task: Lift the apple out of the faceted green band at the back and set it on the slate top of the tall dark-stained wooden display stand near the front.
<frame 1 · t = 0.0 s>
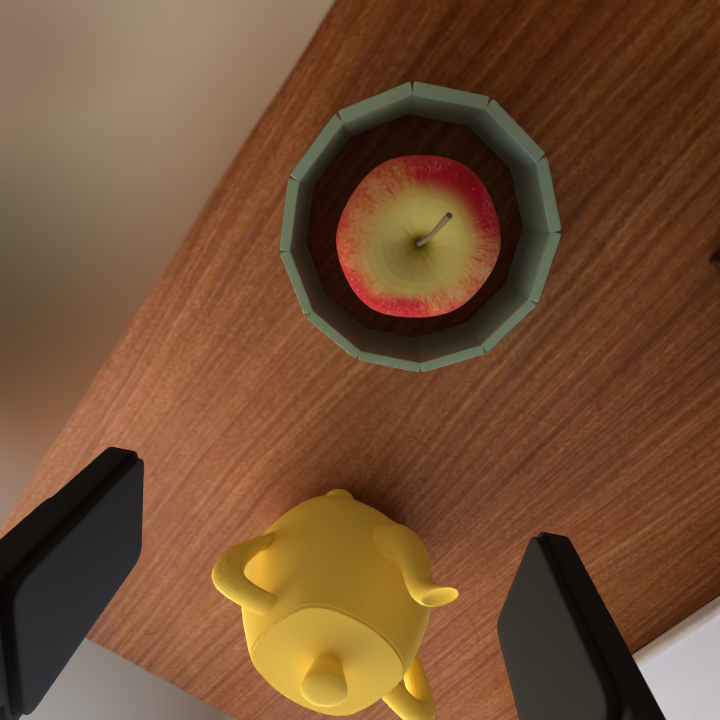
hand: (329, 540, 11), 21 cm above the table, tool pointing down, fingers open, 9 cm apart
faceted green band: (412, 234, 28), on the table
apple: (412, 234, 28), resting in faceted green band
tray: (669, 682, 40), on the table
yellow two-handled pot: (359, 527, 36), on the table
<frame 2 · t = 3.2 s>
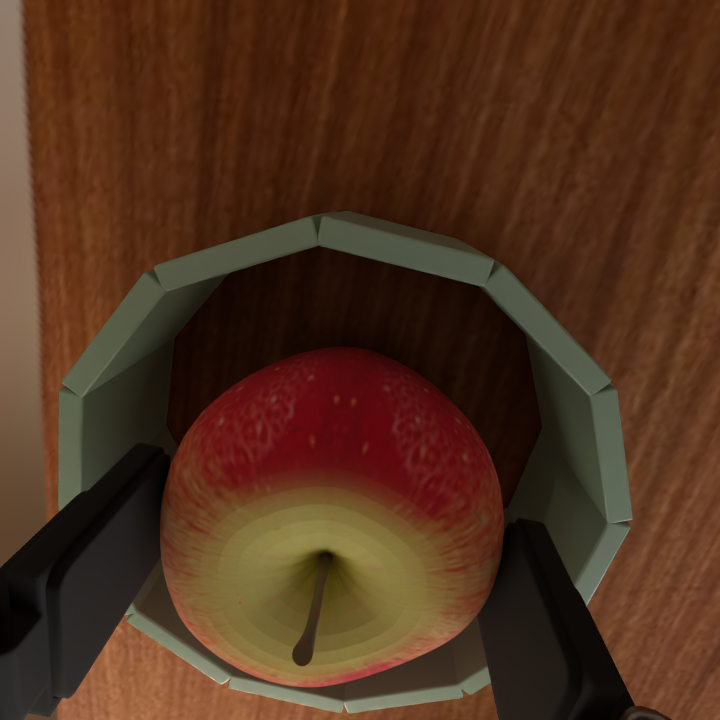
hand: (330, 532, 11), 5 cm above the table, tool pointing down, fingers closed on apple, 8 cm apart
faceted green band: (349, 425, 16), on the table
apple: (349, 423, 16), resting in faceted green band, touching gripper
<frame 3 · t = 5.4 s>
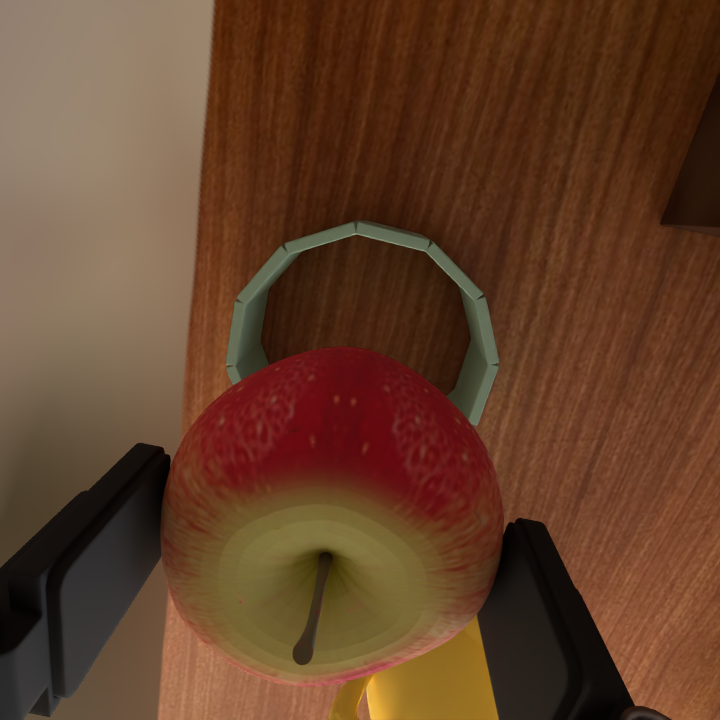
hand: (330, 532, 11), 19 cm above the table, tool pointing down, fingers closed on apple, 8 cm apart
faceted green band: (364, 339, 29), on the table
apple: (349, 423, 16), point 13 cm above the table, touching gripper
yellow two-handled pot: (458, 606, 35), on the table
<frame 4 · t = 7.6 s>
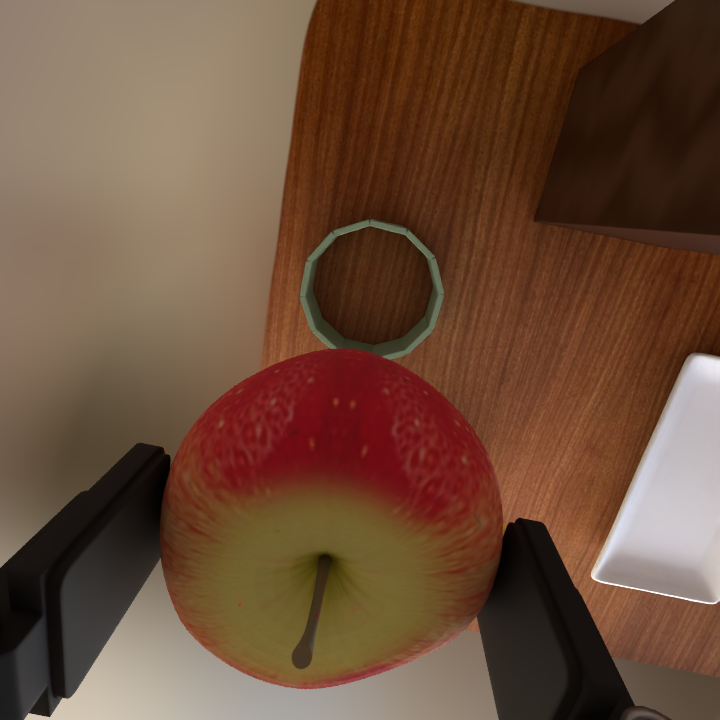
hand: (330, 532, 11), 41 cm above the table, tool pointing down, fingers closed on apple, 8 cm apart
faceted green band: (372, 287, 50), on the table
apple: (349, 424, 16), point 35 cm above the table, touching gripper
tray: (687, 474, 55), on the table
stand: (623, 162, 45), on the table
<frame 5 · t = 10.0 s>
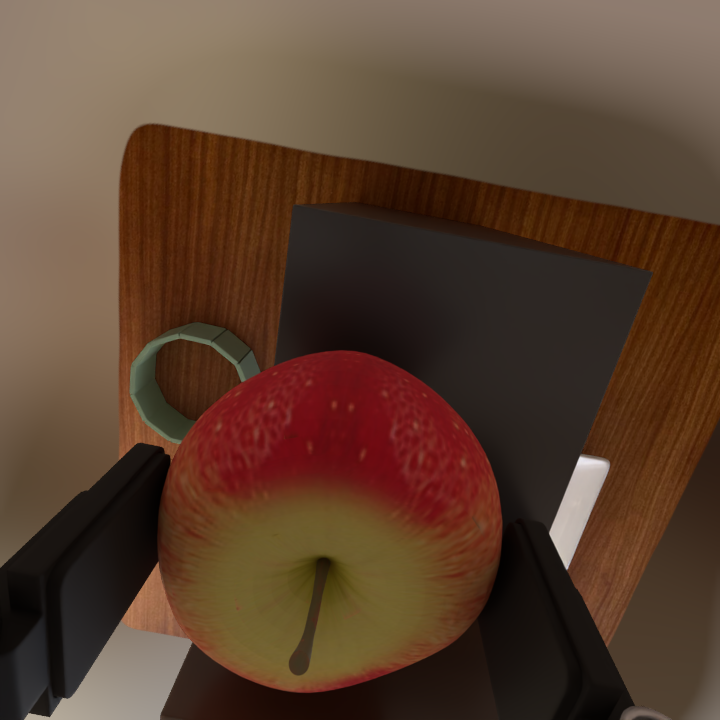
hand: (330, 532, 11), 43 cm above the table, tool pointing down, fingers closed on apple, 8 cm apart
faceted green band: (206, 377, 57), on the table
apple: (348, 426, 16), point 37 cm above the table, touching gripper
tray: (501, 531, 63), on the table
stand: (404, 277, 51), on the table
when the fingers open (39 cm above the table, at t = 11.8 s): apple stays where it is, resting on stand.
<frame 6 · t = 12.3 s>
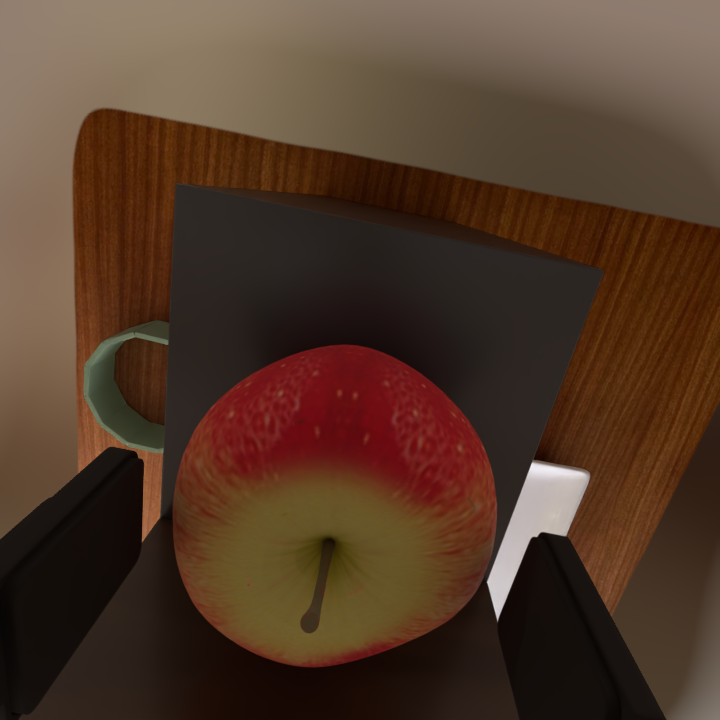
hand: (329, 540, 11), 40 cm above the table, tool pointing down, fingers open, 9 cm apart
faceted green band: (167, 378, 54), on the table
apple: (351, 419, 17), point 34 cm above the table, touching stand
tray: (478, 543, 60), on the table
stand: (375, 275, 49), on the table
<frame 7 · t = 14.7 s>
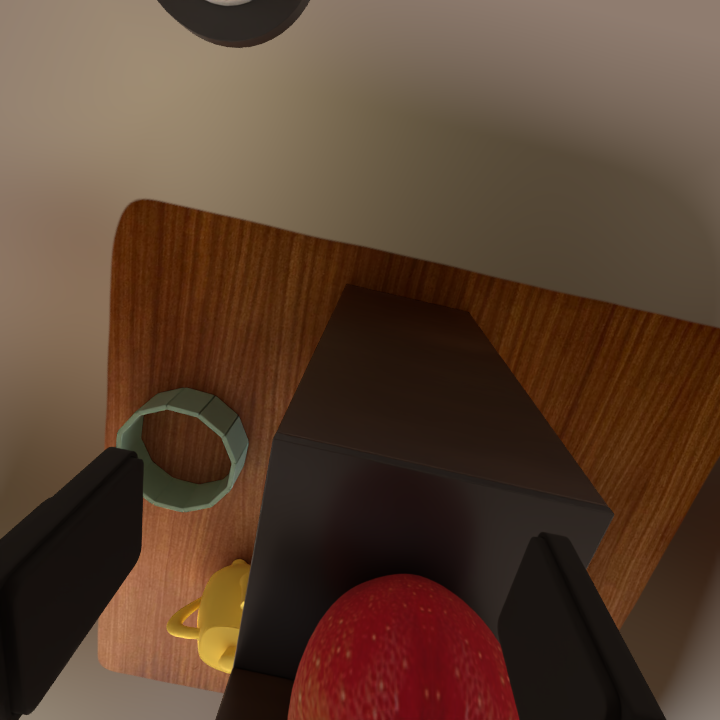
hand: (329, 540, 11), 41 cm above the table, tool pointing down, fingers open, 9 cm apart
faceted green band: (192, 439, 58), on the table
apple: (401, 602, 20), point 34 cm above the table, touching stand
stand: (392, 355, 52), on the table
yellow two-handled pot: (258, 574, 65), on the table
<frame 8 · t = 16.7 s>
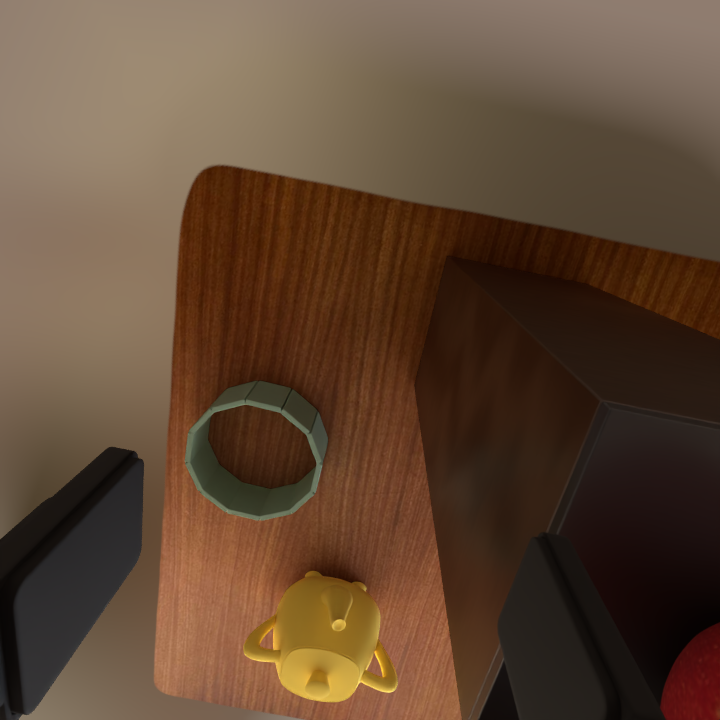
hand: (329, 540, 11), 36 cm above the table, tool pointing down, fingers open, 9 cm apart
faceted green band: (265, 439, 52), on the table
stand: (496, 337, 46), on the table
yellow two-handled pot: (334, 587, 59), on the table
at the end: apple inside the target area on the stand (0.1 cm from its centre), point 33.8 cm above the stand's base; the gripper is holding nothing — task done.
